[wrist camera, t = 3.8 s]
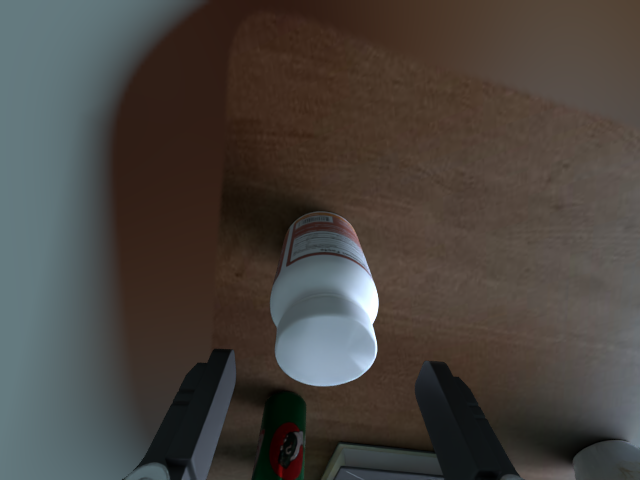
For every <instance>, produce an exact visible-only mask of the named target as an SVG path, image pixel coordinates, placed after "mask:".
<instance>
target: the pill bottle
mask: <svg viewBox="0 0 640 480" xmlns="http://www.w3.org/2000/svg"><path fill="white" fill-rule="evenodd" d="M270 310H271V316H272V319H273V321H274V323H275V325H276V327H277V336H276V343H275V356H276V360H277V362H278V364H279V366H280V367H281V369H282V370H283V371H284V372H285V373H286V374H287V375H288V376H290V377H291V378H293V379H295V380H297V381H299V382H302V383H305V384H309V385H315V386H333V385H339V384H343V383H346V382H349V381H352V380H354V379H356V378H358V377H359V376H361V375H362V374H363V373H365V372H366V371H367V370H368V369H369V368H370V366H371V365H372V363H373V362H374V360H375V357H376V353H377V342H376V337H375V333H374V329H373V326H372V324H373V322H374V320H375V318H376V315H377V311H378V295H377V291H376V287H375V284H374V281H373V279H372V276H371V273H370V270H369V268H368V265H367V262H366V259H365V257H364V254H363V251H362V248H361V246H360V243H359V240H358V237H357V235H356V233H355V231H354V229H353V227H352V226H351V225H350V223H349V222H348V221H347V220H345V219H344V218H343V217H341V216H339V215H337V214H334V213H331V212H325V211H317V212H311V213H308V214H305V215H303V216H301V217H300V218H298V219H297V220H296V221H295V222H294V223H293V224H292V225H291V226H290V228H289V229H288V231H287V233H286V236H285V239H284V243H283V247H282V251H281V256H280V260H279V264H278V268H277V272H276V276H275V279H274V283H273V288H272V292H271V299H270Z"/></svg>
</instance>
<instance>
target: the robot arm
mask: <svg viewBox="0 0 640 480" xmlns="http://www.w3.org/2000/svg"><path fill="white" fill-rule="evenodd" d="M235 381H236V365H235V354H234V350H231V349H214V350H213V352H212V353H211V356H210V358H209V360H208V363H197V364H196V365H195V366H194V367H193V368H192V369H191V371H190V372H189V373H188V374H187V375H186V377H185V379H184V381H183V383H182V384H181V386H180V389H179V392H177V394H176V396H175V399H174V400H173V404H172V405H171V406H170V408H169V410H168V412H167V414H166V416H165V418H164V420H163V422H162V424H161V426H160V428H159V430H158V432H157V434H156V436H155V438H154V440H153V442H152V444H151V446H150V447H149V449H148V451H147V453H146V455H145V457H144V458H143V460H142V461H141V462H140V464H139V465H138V466H137V467H136V468H135V469H134V470H133V472H131V473H130V474H129V475H128V476H127V477H126V478H124V479H122V480H206V478H207V475H208V472H209V469H210V465H211V462H212V459H213V456H214V452H215V449H216V446H217V443H218V439H219V436H220V433H221V429H222V426H223V423H224V420H225V416H226V413H227V410H228V407H229V403H230V400H231V397H232V394H233V390H234V387H235ZM415 395H416V399H417V402H418V405H419V408H420V411H421V413H422V416H423V419H424V422H425V425H426V428H427V431H428V433H429V436H430V439H431V442H432V445H433V448H434V451H435V453H436V456H437V459H438V462H439V465H440V468H441V471H442V473H443V476H444V479H445V480H525V479H523V478H521V477H520V476H519V474H518V473H517V472H516V470H515V468H514V467H513V465H512V463H511V461H510V460H509V458H508V456H507V454H506V452H505V451H504V449H503V447H502V445H501V443H500V442H499V440H498V438H497V436H496V435H495V433H494V431H493V429H492V427H491V426H490V424H489V422H488V420H487V419H486V418H485V415H484V413H483V411H482V409H481V408H480V407H479V406H478V402H477V401H476V399H475V397H474V395H473V393H472V392H471V390H470V389H469V388H468V386H467V385H466V384H465V383H464V382H463V381H462V380H461V379H460V378H459V377H453V375H452V373H451V371H450V369H449V367H448V366H447V364H446V363H444V362H437V361H425V362H424V363H423V366H422V368H421V370H420V373H419V375H418V378H417V380H416V383H415Z"/></svg>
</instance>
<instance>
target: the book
mask: <svg viewBox="0 0 640 480" xmlns="http://www.w3.org/2000/svg"><path fill="white" fill-rule="evenodd" d="M320 480H445V479H444V476H443V473H442V471H441V468H440V465H439V462H438V459H437V456H436V453H435V452H431V451H422V450H412V449H403V448H394V447H385V446H375V445H366V444H357V443H347V442H339V443H338V445H337V447H336V449H335V451H334V453H333V455H332V457H331V459H330V461H329V463H328V465H327V467H326V469H325V471H324V473H323V475H322V477H321V479H320Z"/></svg>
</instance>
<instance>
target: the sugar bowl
mask: <svg viewBox="0 0 640 480" xmlns="http://www.w3.org/2000/svg"><path fill="white" fill-rule="evenodd" d="M573 467H574V471H575V477H576V480H640V448H639V447H637V446H635V445H633V444H631V443H629V442H626V441H622V440H608V441H602V442H599V443H595V444H593V445H591V446H588V447H586V448H584V449H583V450H581V451H580V452H579V453H578V454H577V455H576V456H575V457H574V458H573Z"/></svg>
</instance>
